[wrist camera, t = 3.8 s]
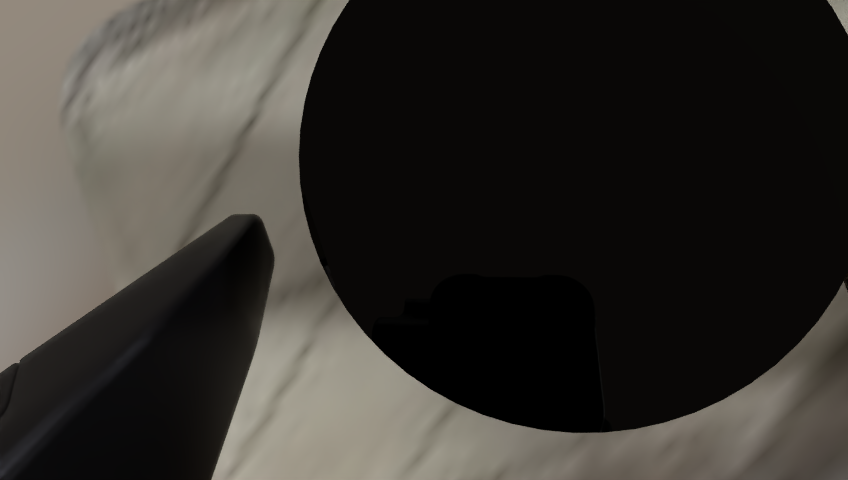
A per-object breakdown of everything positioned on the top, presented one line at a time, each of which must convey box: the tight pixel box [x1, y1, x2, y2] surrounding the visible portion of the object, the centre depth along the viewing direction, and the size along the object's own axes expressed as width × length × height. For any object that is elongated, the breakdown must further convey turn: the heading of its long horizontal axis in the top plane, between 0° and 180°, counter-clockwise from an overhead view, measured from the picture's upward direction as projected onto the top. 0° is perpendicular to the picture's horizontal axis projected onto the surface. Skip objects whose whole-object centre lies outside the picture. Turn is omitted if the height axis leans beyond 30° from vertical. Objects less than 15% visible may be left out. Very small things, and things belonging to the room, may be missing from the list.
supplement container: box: [299, 0, 848, 433], centre depth 11 cm, size 7×7×10 cm
